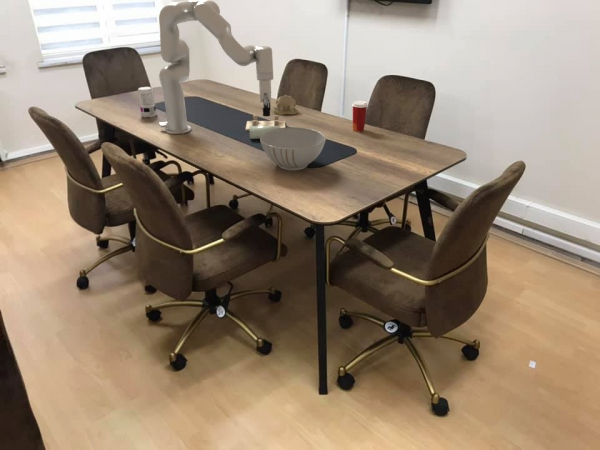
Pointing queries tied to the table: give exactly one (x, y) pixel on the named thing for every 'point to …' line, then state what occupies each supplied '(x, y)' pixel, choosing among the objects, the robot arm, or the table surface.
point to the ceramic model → (285, 105)
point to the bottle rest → (265, 123)
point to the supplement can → (147, 102)
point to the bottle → (260, 131)
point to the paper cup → (359, 115)
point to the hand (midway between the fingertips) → (267, 113)
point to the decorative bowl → (292, 146)
